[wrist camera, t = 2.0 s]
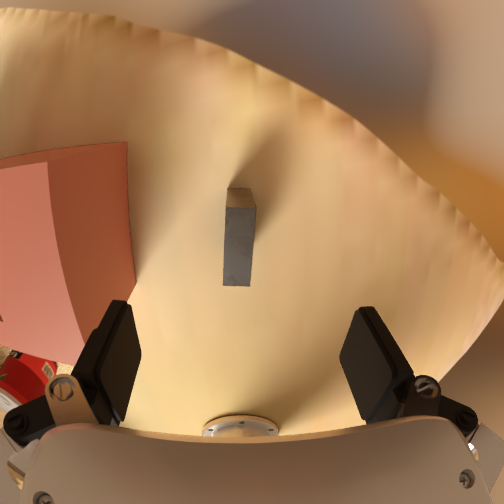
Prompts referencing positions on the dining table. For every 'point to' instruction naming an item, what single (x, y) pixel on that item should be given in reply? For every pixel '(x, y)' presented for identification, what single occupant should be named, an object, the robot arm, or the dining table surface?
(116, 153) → the box
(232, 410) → the dining table surface
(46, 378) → the canned food
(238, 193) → the block
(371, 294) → the dining table surface
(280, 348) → the dining table surface
